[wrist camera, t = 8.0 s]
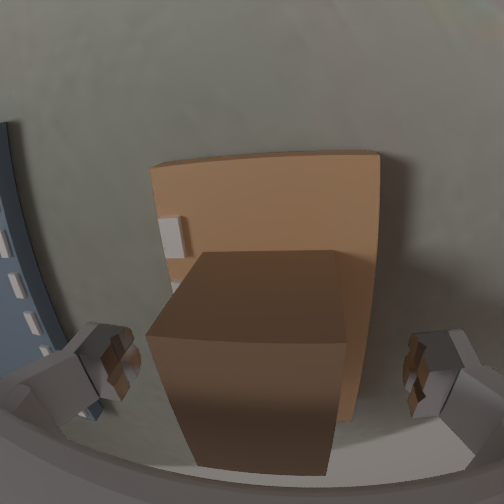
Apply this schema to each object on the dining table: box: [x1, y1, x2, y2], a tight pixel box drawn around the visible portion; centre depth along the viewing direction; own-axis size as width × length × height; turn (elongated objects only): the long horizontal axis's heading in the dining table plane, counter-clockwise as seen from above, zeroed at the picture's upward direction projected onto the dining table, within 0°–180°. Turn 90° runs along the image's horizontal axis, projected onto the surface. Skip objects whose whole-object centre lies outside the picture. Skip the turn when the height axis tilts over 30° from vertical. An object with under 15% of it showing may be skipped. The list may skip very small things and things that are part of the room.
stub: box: [145, 150, 380, 476], centre depth 9 cm, size 6×10×5 cm, turn 5°
